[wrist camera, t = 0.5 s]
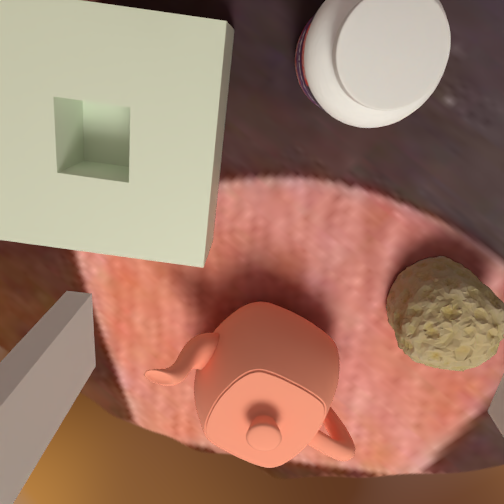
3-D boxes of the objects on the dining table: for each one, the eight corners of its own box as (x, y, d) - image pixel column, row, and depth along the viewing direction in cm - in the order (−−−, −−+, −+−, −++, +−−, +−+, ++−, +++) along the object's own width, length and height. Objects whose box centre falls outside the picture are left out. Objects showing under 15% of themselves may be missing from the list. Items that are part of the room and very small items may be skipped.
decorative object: (369, 301, 46) (399, 393, 41) (384, 249, 38) (424, 356, 32) (454, 287, 46) (496, 378, 40) (488, 232, 38) (546, 337, 32)
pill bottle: (277, 33, 33) (281, 6, 20) (375, -20, 32) (449, -88, 18) (317, 129, 36) (343, 161, 23) (410, 85, 34) (496, 92, 21)
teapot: (206, 248, 41) (181, 315, 30) (375, 343, 44) (410, 435, 33) (147, 347, 45) (106, 436, 34) (304, 425, 49) (313, 530, 38)
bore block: (6, -3, 33) (-47, -19, 28) (234, 29, 33) (226, 20, 28) (24, 215, 40) (-16, 237, 35) (212, 241, 40) (203, 267, 35)
